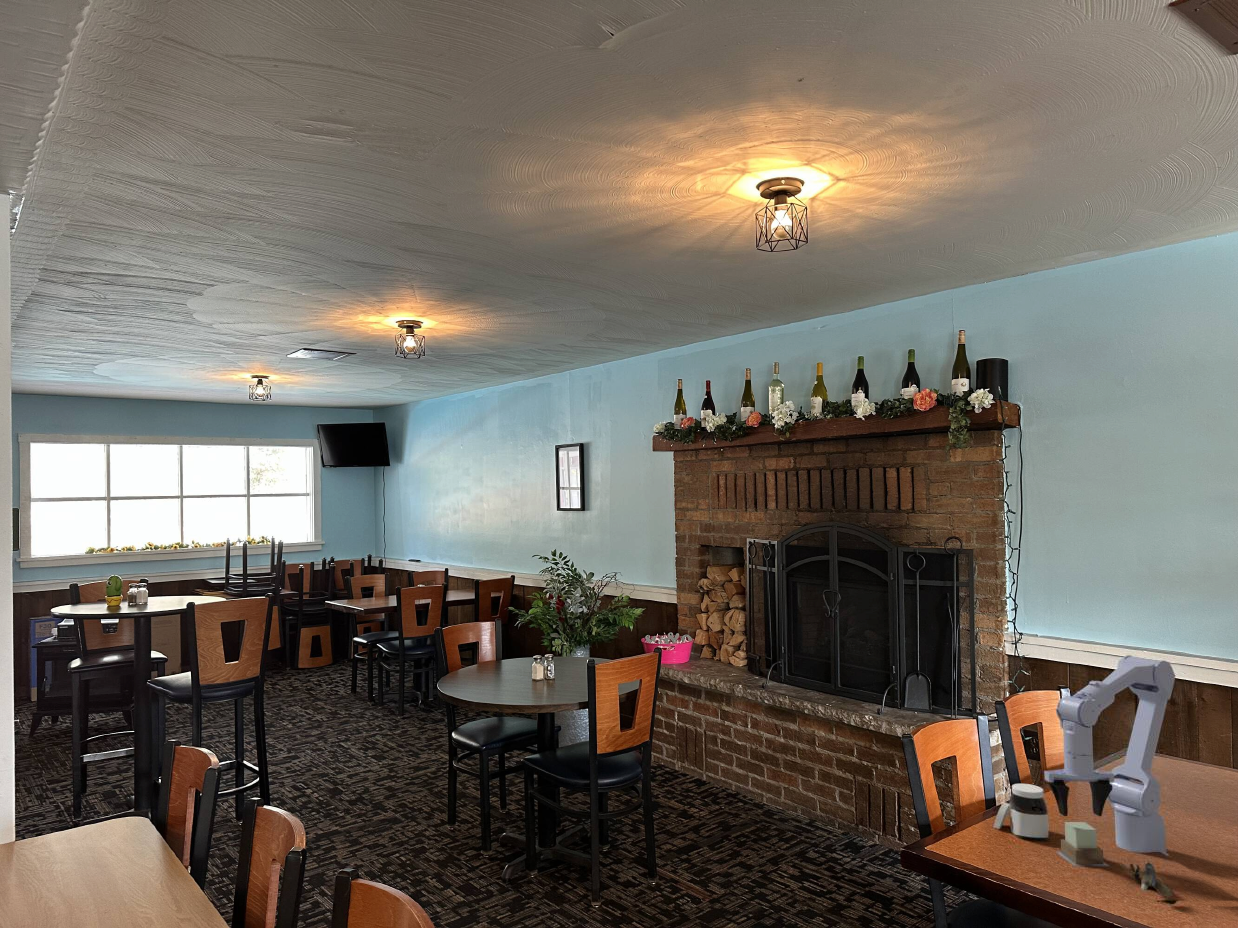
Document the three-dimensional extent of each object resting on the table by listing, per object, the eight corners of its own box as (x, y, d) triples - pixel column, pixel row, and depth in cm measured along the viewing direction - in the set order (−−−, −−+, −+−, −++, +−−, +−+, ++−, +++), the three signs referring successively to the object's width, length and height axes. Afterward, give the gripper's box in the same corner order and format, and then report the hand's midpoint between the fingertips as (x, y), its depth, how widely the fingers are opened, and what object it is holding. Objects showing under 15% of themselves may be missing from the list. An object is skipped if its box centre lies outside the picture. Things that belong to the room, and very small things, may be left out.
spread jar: (1053, 846, 191) (1051, 795, 192) (1001, 843, 194) (999, 792, 194) (1037, 828, 203) (1036, 780, 204) (988, 824, 205) (987, 777, 206)
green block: (1096, 848, 181) (1096, 829, 181) (1076, 848, 181) (1075, 829, 181) (1085, 840, 185) (1084, 821, 185) (1065, 840, 185) (1064, 821, 185)
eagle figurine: (1114, 881, 170) (1150, 891, 162) (1123, 848, 173) (1160, 857, 164) (1143, 900, 171) (1181, 911, 162) (1152, 867, 173) (1190, 876, 165)
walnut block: (1087, 853, 185) (1087, 839, 186) (1103, 863, 179) (1103, 849, 180) (1061, 852, 185) (1060, 839, 186) (1076, 863, 179) (1075, 849, 180)
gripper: (1100, 747, 188) (1102, 808, 187) (1036, 747, 188) (1038, 808, 187) (1118, 756, 181) (1121, 819, 180) (1053, 755, 181) (1055, 819, 180)
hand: (1080, 814), depth 183 cm, fingers open, 7 cm apart
